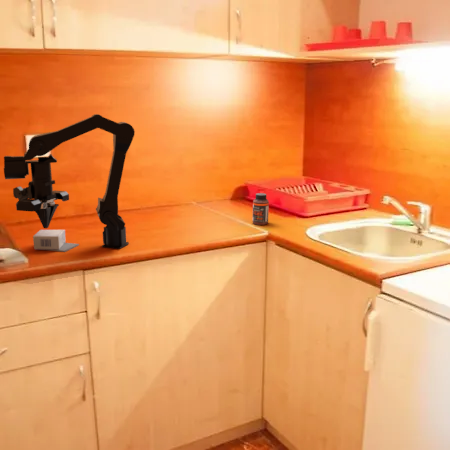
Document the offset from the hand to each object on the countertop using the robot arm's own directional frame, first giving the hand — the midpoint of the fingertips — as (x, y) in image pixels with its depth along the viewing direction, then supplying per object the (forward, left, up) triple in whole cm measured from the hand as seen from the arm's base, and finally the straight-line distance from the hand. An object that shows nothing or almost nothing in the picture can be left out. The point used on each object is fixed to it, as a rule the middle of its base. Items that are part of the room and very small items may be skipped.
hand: (45, 228), depth 166 cm
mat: (-1, -5, -8) cm, 9 cm away
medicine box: (0, 0, -5) cm, 5 cm away
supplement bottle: (-54, -56, -8) cm, 78 cm away
